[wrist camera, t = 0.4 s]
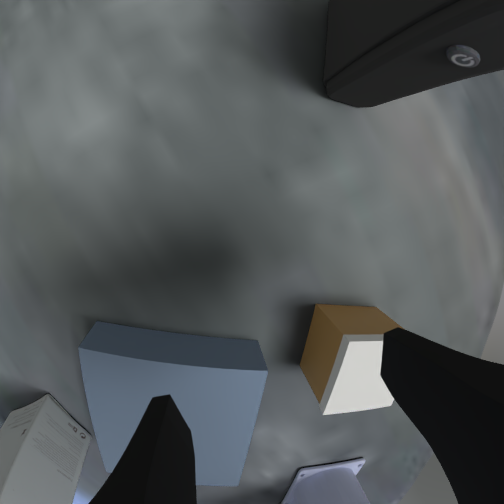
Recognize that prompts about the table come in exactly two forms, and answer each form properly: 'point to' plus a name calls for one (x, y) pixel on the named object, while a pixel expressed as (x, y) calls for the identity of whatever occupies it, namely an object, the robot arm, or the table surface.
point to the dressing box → (175, 392)
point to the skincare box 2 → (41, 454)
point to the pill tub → (347, 358)
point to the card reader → (408, 46)
